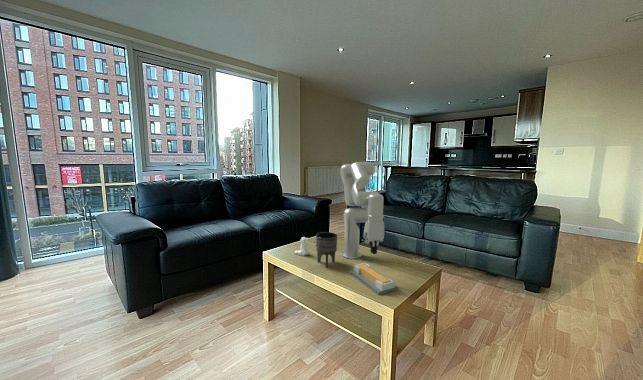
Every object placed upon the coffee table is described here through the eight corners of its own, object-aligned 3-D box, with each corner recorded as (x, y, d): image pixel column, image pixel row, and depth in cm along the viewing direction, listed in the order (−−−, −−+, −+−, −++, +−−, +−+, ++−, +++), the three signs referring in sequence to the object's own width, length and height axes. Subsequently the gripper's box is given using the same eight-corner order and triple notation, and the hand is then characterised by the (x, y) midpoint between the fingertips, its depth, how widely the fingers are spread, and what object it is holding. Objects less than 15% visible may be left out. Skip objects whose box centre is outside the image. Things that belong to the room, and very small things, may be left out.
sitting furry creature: (305, 250, 177) (305, 233, 176) (313, 254, 171) (313, 236, 170) (293, 254, 171) (293, 236, 170) (301, 257, 165) (301, 239, 163)
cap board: (350, 273, 143) (350, 265, 142) (367, 269, 148) (368, 262, 148) (378, 294, 121) (378, 285, 120) (398, 289, 126) (398, 280, 125)
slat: (356, 271, 143) (357, 265, 142) (362, 269, 144) (363, 263, 144) (382, 289, 123) (382, 282, 122) (389, 287, 125) (389, 280, 124)
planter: (311, 265, 153) (311, 236, 151) (321, 257, 165) (322, 230, 163) (331, 269, 147) (331, 239, 145) (340, 261, 159) (341, 233, 157)
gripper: (382, 215, 137) (380, 248, 139) (358, 218, 131) (357, 252, 133) (391, 218, 130) (389, 253, 133) (367, 221, 124) (365, 258, 126)
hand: (373, 253), depth 133 cm, fingers closed
